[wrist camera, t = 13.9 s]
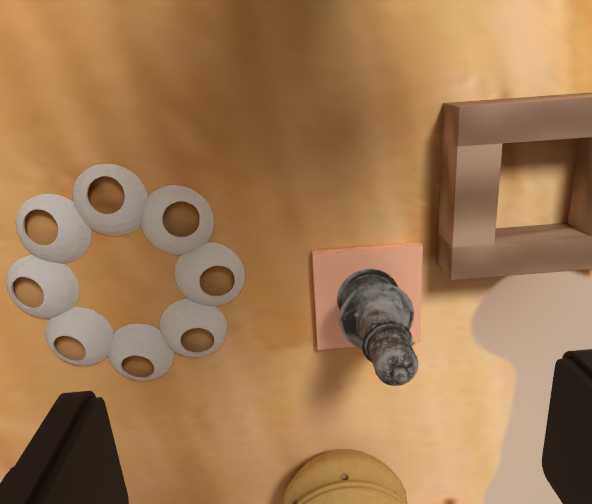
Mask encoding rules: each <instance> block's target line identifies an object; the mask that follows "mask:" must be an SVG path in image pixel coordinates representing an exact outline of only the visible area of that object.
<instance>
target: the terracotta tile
mask: <svg viewBox="0 0 592 504" xmlns="http://www.w3.org/2000/svg"><path fill="white" fill-rule="evenodd" d="M422 252H423V245H422V244H421V243H420V242H417V243H404V244H391V245H378V246H365V247H351V248H338V249H325V250H312V263H313V281H314V298H315V316H316V334H317V347H318V350H322V349H335V348H347V347H356V346H354V345H353V344H352V343H350V342H349V341H348V340H347V339H346V338H345V336H344V335H343V334H342V331H341V328H340V325H339V314H340V310H339V307H338V301H337V296H338V292H339V289H340V287H341V285H342V283H343V282H344V281H345V280H346V279H347V278H348V277H349V276H350V275H352V274H354V273H355V272H358V271H361V270H364V269H376V270H381V271H383V272H385V273H387V274H389V275H390V276H391V277H392V278H393V279H394V280H395V282H396V283H397V285H398V288H400V289H401V290H402V291H403V292H405V293H406V294H407V296H408V297H409V299H410V300H411V302H412V305H413V309H414V320H413V323H412V327H411V329H410V330H409V331H410V332H411V335H412V338H413V342H420V324H421V288H422Z"/></svg>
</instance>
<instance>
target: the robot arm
mask: <svg viewBox="0 0 592 504" xmlns="http://www.w3.org/2000/svg"><path fill="white" fill-rule="evenodd" d="M542 467H543V471H544V474H545V477H546V478H547V480H548V482H549V483H550V485H551V486H552V488H553V489H554V491H555V492H556V494H557V495H558V497H559V498H560V500H561V502H562V503H563V504H592V349H589V350H577V351H568V352H566V353H565V354H564V355H563V358H562V359H559V360H557V362H556V364H555V370H554V377H553V384H552V391H551V399H550V406H549V413H548V420H547V427H546V434H545V441H544V448H543V455H542ZM0 504H129V501H128V494H127V490H126V486H125V482H124V478H123V474H122V470H121V466H120V461H119V457H118V453H117V449H116V445H115V441H114V437H113V433H112V429H111V425H110V421H109V417H108V413H107V409H106V405H105V402H104V400H103V398H101V397H98V398H96V396H95V394H94V393H93V392H92V391H83V392H71V393H63V394H61V395H60V396H59V397H58V399H57V400H56V402H55V403H54V405H53V407H52V408H51V410H50V411H49V413H48V414H47V416H46V418H45V419H44V421H43V422H42V424H41V425H40V427H39V429H38V430H37V432H36V433H35V435H34V436H33V438H32V440H31V441H30V443H29V444H28V446H27V447H26V449H25V451H24V452H23V454H22V455H21V457H20V458H19V460H18V462H17V463H16V465H15V466H14V467H13V468H11V469H10V471H9V472H8V473H7V474H6V475H5V477H4V479H3V480H2V482H1V483H0Z"/></svg>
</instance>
